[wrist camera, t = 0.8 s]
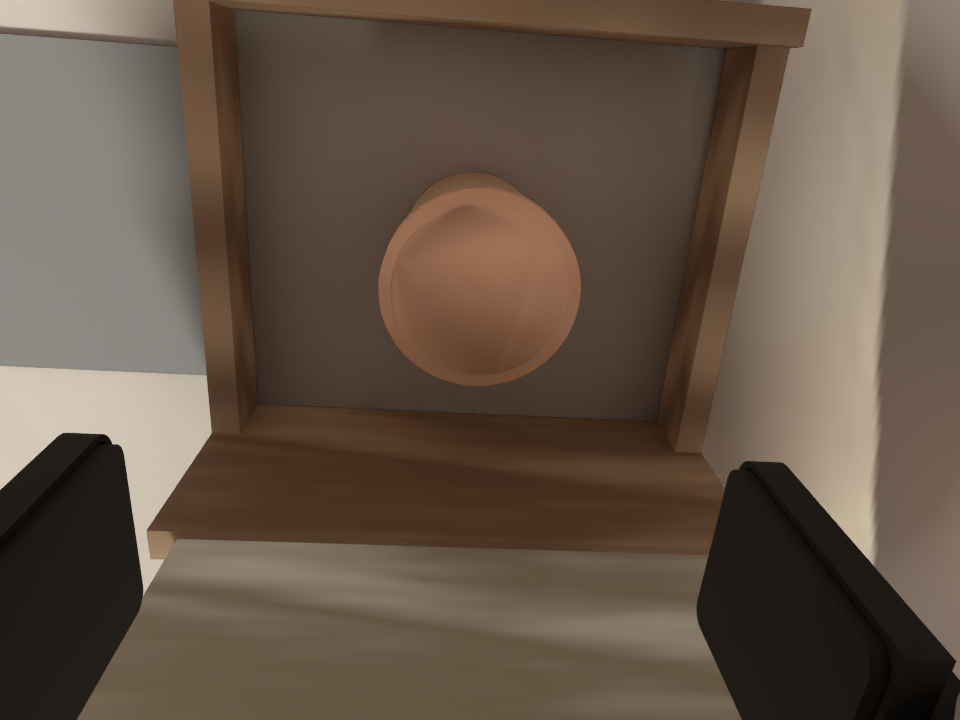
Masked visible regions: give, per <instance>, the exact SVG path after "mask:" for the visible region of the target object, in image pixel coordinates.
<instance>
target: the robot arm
mask: <svg viewBox="0 0 960 720" xmlns="http://www.w3.org/2000/svg"><path fill="white" fill-rule="evenodd" d="M142 598H143V583H142V576H141V569H140V562H139V555H138V549H137V542H136V535H135V528H134V521H133V514H132V507H131V501H130V494H129V487H128V480H127V473H126V466H125V460H124V454H123V450H122V448H121V446H119V445H114V444H112V442H111V440H110V439H109V437H108V436H106V435H105V434H81V433H63V434H61V435H59V436H58V437H57V438H56V439H55V440H54V441H52V442H51V443H50V444H49V445H48V446H47V447H46V448H45V449H44V450H43V451H42V452H41V453H40V454H39V455H37V456H36V457H35V458H34V459H33V460H32V461H31V462H30V463H29V464H28V465H27V466H26V467H25V468H23V469H22V470H21V471H20V472H19V473H18V474H17V475H16V476H15V477H14V478H13V479H12V480H11V481H10V482H8V483H7V484H6V485H5V486H4V487H3V488H2V489H1V490H0V720H77V719H78V717H79V715H80V713H81V712H82V710H83V708H84V706H85V705H86V703H87V701H88V699H89V698H90V696H91V694H92V693H93V691H94V689H95V687H96V686H97V684H98V682H99V680H100V679H101V677H102V675H103V673H104V672H105V670H106V668H107V666H108V665H109V663H110V661H111V659H112V658H113V656H114V654H115V652H116V651H117V649H118V647H119V645H120V644H121V642H122V640H123V638H124V637H125V635H126V633H127V631H128V630H129V628H130V626H131V624H132V623H133V621H134V619H135V617H136V616H137V614H138V612H139V610H140V607H141V603H142ZM696 612H697V620H698V624H699V627H700V629H701V631H702V634H703V636H704V638H705V640H706V642H707V645H708V647H709V649H710V651H711V653H712V655H713V658H714V660H715V662H716V664H717V666H718V669H719V671H720V673H721V675H722V677H723V680H724V682H725V684H726V686H727V688H728V690H729V693H730V695H731V697H732V699H733V701H734V704H735V706H736V708H737V710H738V712H739V715H740V717H741V719H742V720H960V680H959V679H958V678H957V677H956V675H955V674H954V673H953V672H952V670H953V668H954V665H955V663H956V660H955V659H954V658H953V657H952V656H951V655H950V654H949V652H948V651H947V650H946V649H945V648H944V647H943V646H942V644H941V643H940V642H939V641H938V640H937V638H936V637H935V636H934V635H933V634H932V633H931V632H930V630H929V629H928V628H927V627H926V626H925V625H924V623H923V622H922V621H921V620H920V619H919V618H918V617H917V615H916V614H915V613H914V612H913V611H912V610H911V609H910V607H909V606H908V605H907V604H906V603H905V602H904V600H903V599H902V598H901V597H900V596H899V595H898V594H897V593H896V591H895V590H894V589H893V588H892V587H891V586H890V584H889V583H888V582H887V581H886V580H885V579H884V577H882V575H881V574H880V573H879V572H878V570H877V569H876V568H875V567H874V566H873V565H872V564H871V562H870V561H869V560H868V559H867V558H866V557H865V556H864V554H863V553H862V552H861V551H860V550H859V549H858V547H857V546H856V545H855V544H854V543H853V542H852V541H851V539H850V538H849V537H848V536H847V535H846V534H845V532H844V531H843V530H842V529H841V528H840V527H839V526H838V524H837V523H836V522H835V521H834V520H833V519H832V517H831V516H830V515H829V514H828V513H827V512H826V511H825V509H824V508H823V507H822V506H821V505H820V504H819V503H818V501H817V500H816V499H815V498H814V497H813V496H812V494H811V493H810V492H809V491H808V490H807V489H806V488H805V486H804V485H803V484H802V483H801V482H800V481H799V479H798V478H797V477H796V476H795V475H794V474H793V473H792V471H791V470H790V469H789V468H788V467H787V466H786V465H785V464H783V463H779V462H755V461H746V462H744V463H743V464H742V465H741V466H740V468H739V470H733V471H731V473H730V474H729V476H728V479H727V483H726V487H725V491H724V495H723V499H722V503H721V507H720V511H719V515H718V519H717V523H716V527H715V531H714V535H713V539H712V543H711V547H710V551H709V555H708V559H707V564H706V568H705V572H704V576H703V580H702V584H701V588H700V592H699V596H698V600H697V606H696Z"/></svg>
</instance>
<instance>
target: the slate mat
mask: <svg viewBox="0 0 960 720" xmlns="http://www.w3.org/2000/svg"><path fill="white" fill-rule="evenodd" d="M0 366H15V367H36V368H58V369H80V370H101V371H123V372H145V373H166V374H188V375H207V371H206V360H205V349H204V337H203V326H202V315H201V304H200V292H199V281H198V270H197V259H196V247H195V236H194V225H193V214H192V202H191V191H190V180H189V168H188V157H187V146H186V135H185V123H184V112H183V101H182V90H181V78H180V67H179V56H178V47H168V46H155V45H142V44H129V43H116V42H103V41H90V40H77V39H64V38H51V37H38V36H25V35H12V34H0Z"/></svg>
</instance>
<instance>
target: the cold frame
mask: <svg viewBox="0 0 960 720" xmlns="http://www.w3.org/2000/svg"><path fill="white" fill-rule="evenodd" d="M234 9H235V10H248V11H260V12H272V13H285V14H297V15H310V16H322V17H334V18H347V19H359V20H372V21H384V22H396V23H409V24H421V25H434V26H446V27H458V28H471V29H483V30H496V31H508V32H520V33H533V34H545V35H558V36H570V37H583V38H595V39H607V40H620V41H632V42H645V43H657V44H669V45H682V46H694V47H707V48H719V49H727V51H726V57H725V62H724V67H723V73H722V78H721V83H720V89H719V94H718V99H717V105H716V110H715V115H714V121H713V126H712V131H711V136H710V142H709V147H708V152H707V158H706V163H705V168H704V174H703V179H702V184H701V190H700V195H699V200H698V206H697V211H696V216H695V221H694V227H693V232H692V237H691V243H690V248H689V253H688V259H687V264H686V269H685V275H684V280H683V285H682V291H681V296H680V301H679V306H678V312H677V317H676V322H675V328H674V333H673V338H672V344H671V349H670V354H669V360H668V365H667V370H666V376H665V381H664V386H663V391H662V397H661V402H660V407H659V413H658V418H657V422H650V421H627V420H604V419H581V418H558V417H535V416H512V415H489V414H466V413H443V412H420V411H397V410H374V409H352V408H329V407H306V406H283V405H260V404H258V403H257V386H256V369H255V352H254V335H253V318H252V301H251V285H250V268H249V251H248V234H247V217H246V200H245V183H244V166H243V150H242V133H241V116H240V99H239V82H238V65H237V48H236V31H235V14H234ZM174 11H175V22H176V33H177V45H178V56H179V67H180V78H181V90H182V101H183V112H184V123H185V135H186V146H187V157H188V168H189V180H190V191H191V202H192V214H193V225H194V236H195V247H196V259H197V270H198V281H199V292H200V304H201V315H202V326H203V337H204V349H205V360H206V371H207V382H208V394H209V405H210V416H211V427H212V434H211V436H210V437H209V438H208V440H207V441H206V443H205V444H204V446H203V447H202V449H201V450H200V452H199V453H198V455H197V456H196V458H195V459H194V461H193V462H192V464H191V465H190V467H189V468H188V470H187V471H186V473H185V474H184V476H183V477H182V479H181V480H180V482H179V483H178V485H177V486H176V488H175V489H174V491H173V492H172V494H171V495H170V497H169V498H168V500H167V501H166V502H165V504H164V505H163V507H162V508H161V510H160V511H159V513H158V514H157V516H156V517H155V519H154V520H153V522H152V523H151V525H150V526H149V528H148V529H147V538H148V545H149V552H150V559H165V560H164V562H163V564H162V565H161V567H160V569H159V570H158V572H157V574H156V575H155V577H154V579H153V580H152V582H151V584H150V586H149V587H148V589H147V591H146V592H145V594H144V596H143V598H142V603H141V607H140V610H139V612H138V614H137V616H136V617H135V619H134V621H133V623H132V624H131V626H130V628H129V630H128V631H127V633H126V635H125V637H124V638H123V640H122V642H121V644H120V645H119V647H118V649H117V651H116V652H115V654H114V656H113V658H112V659H111V661H110V663H109V665H108V666H107V668H106V670H105V672H104V673H103V675H102V677H101V679H100V680H99V682H98V684H97V686H96V687H95V689H94V691H93V693H92V694H91V696H90V698H89V699H88V701H87V703H86V705H85V706H84V708H83V710H82V712H81V713H80V715H79V717H78V719H77V720H742V719H741V717H740V715H739V712H738V710H737V708H736V706H735V704H734V701H733V699H732V697H731V695H730V693H729V690H728V688H727V686H726V684H725V682H724V680H723V677H722V675H721V673H720V671H719V669H718V666H717V664H716V662H715V660H714V658H713V655H712V653H711V651H710V649H709V647H708V645H707V642H706V640H705V638H704V636H703V634H702V631H701V629H700V627H699V624H698V620H697V612H696V606H697V600H698V596H699V592H700V588H701V584H702V580H703V576H704V572H705V568H706V564H707V559H708V555H709V551H710V547H711V543H712V539H713V535H714V531H715V527H716V523H717V519H718V515H719V511H720V507H721V503H722V499H723V495H724V491H725V488H724V487H723V485H722V484H721V482H720V481H719V480H718V478H717V477H716V475H715V474H714V472H713V471H712V469H711V468H710V466H709V465H708V463H707V462H706V460H705V459H704V457H703V456H702V454H701V450H702V445H703V440H704V436H705V431H706V427H707V422H708V418H709V413H710V409H711V404H712V399H713V395H714V390H715V386H716V381H717V377H718V372H719V368H720V363H721V359H722V354H723V349H724V345H725V340H726V336H727V331H728V327H729V322H730V318H731V313H732V309H733V304H734V299H735V295H736V290H737V286H738V281H739V277H740V272H741V268H742V263H743V258H744V254H745V249H746V245H747V240H748V236H749V231H750V227H751V222H752V218H753V213H754V208H755V204H756V199H757V195H758V190H759V186H760V181H761V177H762V172H763V168H764V163H765V158H766V154H767V149H768V145H769V140H770V136H771V131H772V127H773V122H774V117H775V113H776V108H777V104H778V99H779V95H780V90H781V86H782V81H783V77H784V72H785V67H786V63H787V58H788V54H789V49H790V48H798V47H803V44H804V40H805V35H806V31H807V26H808V22H809V18H810V13H811V9H806V8H794V7H782V6H771V5H759V4H747V3H736V2H724V1H712V0H174Z"/></svg>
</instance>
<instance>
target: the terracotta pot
mask: <svg viewBox="0 0 960 720" xmlns="http://www.w3.org/2000/svg"><path fill="white" fill-rule="evenodd" d="M580 295H581V280H580V271H579V266H578V262H577V259H576V256H575V253H574V250H573V248H572V246H571V244H570V242H569V241H568V239H567V237H566V236H565V234H564V233H563V231H562V230H561V229H560V227H559V226H558V225H557V223H556V222H555V221H554V219H553V218H552V217H551V216H550V215H549V214H548V213H547V212H546V211H545V210H544V209H543V208H541V207H540V206H539V205H538V204H536V203H535V202H534V201H532V200H530V199H528V198H527V197H525V196H524V195H523V194H522V193H521V192H520V191H519V190H518V189H516V188H515V187H514V186H513V185H511V184H510V183H508V182H507V181H505V180H503V179H501V178H499V177H496V176H494V175H490V174H486V173H479V172H466V173H458V174H455V175H451V176H448V177H446V178H444V179H441V180H440V181H438V182H436V183H435V184H433V185H432V186H431V187H429V188H428V189H427V190H426V191H425V192H424V193H423V194H422V195H421V196H420V197H419V199H418V200H417V201H416V203H415V204H414V206H413V208H412V210H411V212H410V214H409V215H408V216H407V217H406V218H405V219H404V220H403V221H402V223H401V224H400V225H399V227H398V228H397V230H396V231H395V233H394V235H393V237H392V238H391V240H390V242H389V245H388V248H387V250H386V253H385V256H384V258H383V261H382V265H381V269H380V274H379V283H378V296H379V305H380V310H381V314H382V317H383V320H384V323H385V326H386V328H387V330H388V332H389V334H390V336H391V338H392V339H393V341H394V342H395V344H396V345H397V347H398V348H399V349H400V350H401V352H402V353H403V354H404V355H405V356H406V357H407V358H408V359H409V360H410V361H412V362H413V363H414V364H415V365H416V366H418V367H419V368H421V369H422V370H424V371H425V372H427V373H429V374H431V375H433V376H435V377H437V378H439V379H442V380H445V381H448V382H451V383H456V384H460V385H468V386H489V385H496V384H501V383H505V382H509V381H512V380H515V379H517V378H520V377H522V376H524V375H526V374H528V373H530V372H532V371H534V370H535V369H536V368H538V367H539V366H541V365H542V364H543V363H545V362H546V361H547V360H548V359H549V358H550V357H551V356H552V355H553V354H554V353H555V352H556V351H557V350H558V349H559V347H560V346H561V345H562V343H563V342H564V340H565V339H566V337H567V336H568V334H569V332H570V330H571V328H572V326H573V324H574V321H575V318H576V315H577V312H578V308H579V303H580Z"/></svg>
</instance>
